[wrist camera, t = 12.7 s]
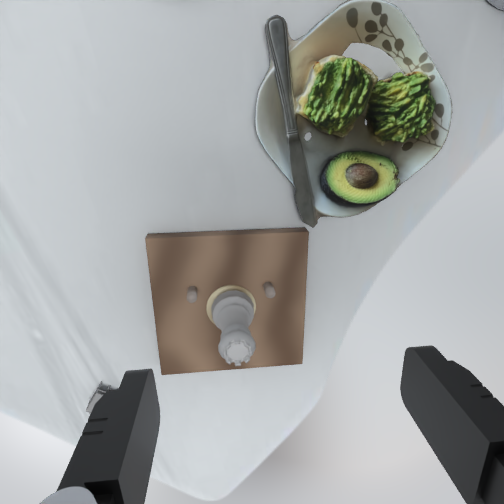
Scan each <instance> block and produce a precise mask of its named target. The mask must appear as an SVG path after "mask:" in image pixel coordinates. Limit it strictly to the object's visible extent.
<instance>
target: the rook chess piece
mask: <svg viewBox="0 0 504 504" xmlns="http://www.w3.org/2000/svg"><path fill="white" fill-rule="evenodd" d="M211 311H212V319H213V321H214V323H215V324H216V326H217V327H218V328H219V329H220V330H221V331H222V333H221V340H220V343H219V345H218V349H219V353H220V355H221V357H222V358H224V359H225V360H226V362H227V363H228V364H229V365H230V364H231V363H232V362H233V363H235V366H241V362H243V361H245V363H248V362H249V361H250V357H251V356H252V355H253V353H254V351H255V349H256V343H255V341H254V339H253V337H252V336H251V332H250V330H249V329H248V327H249V325H250V324H251V322H252V320H253V318H254V304H253V302H252V300H251V298H250V297H249V296H247V295H246V294H245V293H243V292H240V291H237V290H235V291H226V292H224V293H222V294H220V295H219V296H218V297H217V298H216V299H215V300H214V302H213V304H212V307H211Z"/></svg>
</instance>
